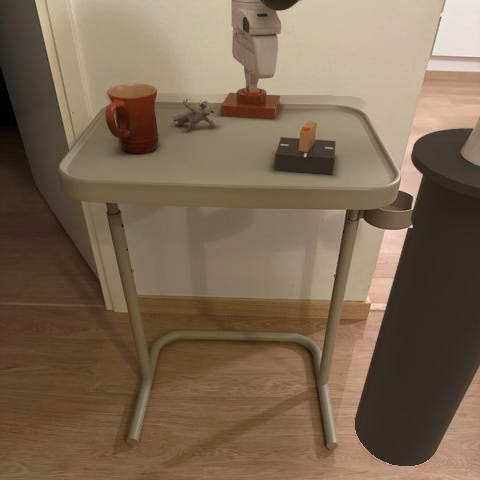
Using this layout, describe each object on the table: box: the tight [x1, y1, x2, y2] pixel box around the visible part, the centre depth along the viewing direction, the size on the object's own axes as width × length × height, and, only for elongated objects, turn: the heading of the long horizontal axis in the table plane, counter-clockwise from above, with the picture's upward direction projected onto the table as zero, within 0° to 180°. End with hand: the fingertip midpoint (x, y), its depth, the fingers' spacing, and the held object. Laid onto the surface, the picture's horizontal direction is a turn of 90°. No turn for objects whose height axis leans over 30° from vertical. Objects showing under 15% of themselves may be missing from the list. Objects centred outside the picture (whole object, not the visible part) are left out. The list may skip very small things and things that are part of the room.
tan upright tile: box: [298, 121, 317, 152], centre depth 80 cm, size 5×2×4 cm, turn 159°
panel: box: [274, 136, 336, 176], centre depth 83 cm, size 10×9×3 cm
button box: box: [220, 87, 281, 120], centre depth 105 cm, size 12×10×4 cm
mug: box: [104, 83, 159, 155], centre depth 84 cm, size 12×9×10 cm
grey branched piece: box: [172, 97, 217, 132], centre depth 95 cm, size 10×6×9 cm
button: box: [244, 89, 260, 94], centre depth 104 cm, size 4×4×2 cm
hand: (251, 90), depth 103 cm, fingers closed, pressing on button
